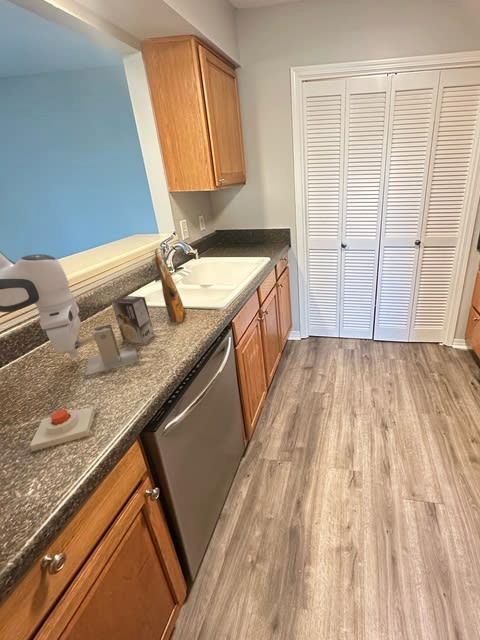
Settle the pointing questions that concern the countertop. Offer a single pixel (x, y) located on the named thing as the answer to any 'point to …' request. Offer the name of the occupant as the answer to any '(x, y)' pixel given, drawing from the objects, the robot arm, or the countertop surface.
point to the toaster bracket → (109, 352)
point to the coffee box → (133, 319)
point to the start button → (60, 417)
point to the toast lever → (86, 340)
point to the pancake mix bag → (169, 291)
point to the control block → (63, 429)
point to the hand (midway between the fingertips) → (76, 351)
